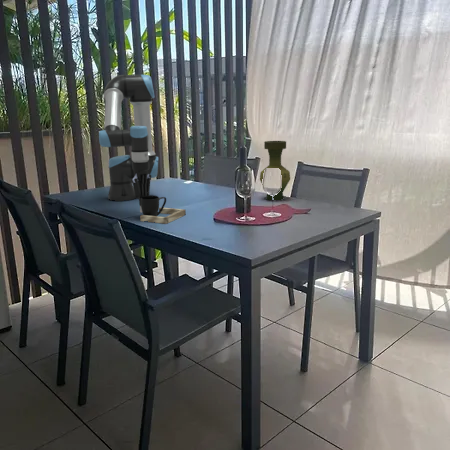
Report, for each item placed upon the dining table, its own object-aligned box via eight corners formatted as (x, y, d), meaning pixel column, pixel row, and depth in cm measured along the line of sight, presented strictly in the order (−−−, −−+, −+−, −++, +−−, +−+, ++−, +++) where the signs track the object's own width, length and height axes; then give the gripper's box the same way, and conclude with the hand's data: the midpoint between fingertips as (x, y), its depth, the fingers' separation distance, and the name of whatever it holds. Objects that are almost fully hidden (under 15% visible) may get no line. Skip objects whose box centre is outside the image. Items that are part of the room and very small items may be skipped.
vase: (294, 196, 241) (295, 140, 233) (285, 203, 227) (286, 143, 219) (265, 194, 248) (265, 140, 240) (254, 200, 234) (254, 142, 226)
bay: (140, 221, 198) (140, 215, 198) (160, 212, 213) (160, 207, 213) (166, 223, 193) (166, 218, 192) (185, 214, 208) (185, 209, 207)
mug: (169, 218, 204) (169, 197, 201) (144, 221, 198) (144, 200, 195) (162, 213, 211) (162, 193, 208) (138, 216, 205) (137, 196, 202)
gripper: (139, 163, 193) (142, 216, 199) (155, 159, 205) (158, 210, 211) (124, 162, 196) (128, 214, 202) (141, 159, 208) (144, 208, 214)
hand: (143, 212), depth 207 cm, fingers closed
